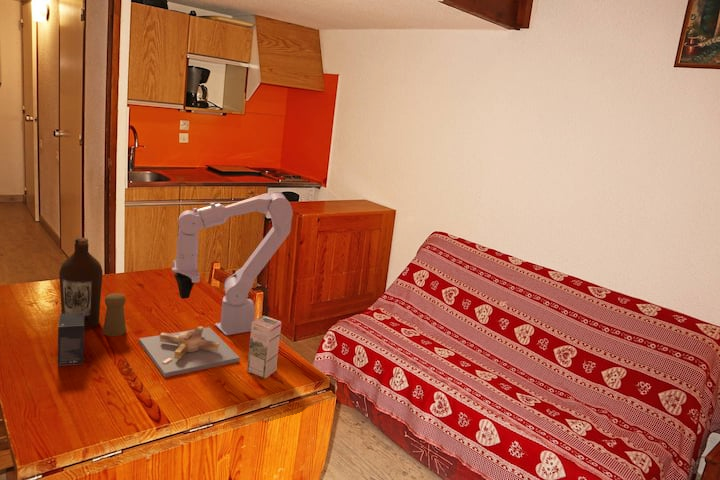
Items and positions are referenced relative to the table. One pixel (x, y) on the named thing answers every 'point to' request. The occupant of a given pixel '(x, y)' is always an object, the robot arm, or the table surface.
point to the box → (71, 339)
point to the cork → (114, 315)
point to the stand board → (187, 354)
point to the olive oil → (81, 284)
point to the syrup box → (264, 346)
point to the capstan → (189, 342)
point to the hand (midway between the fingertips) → (184, 297)
